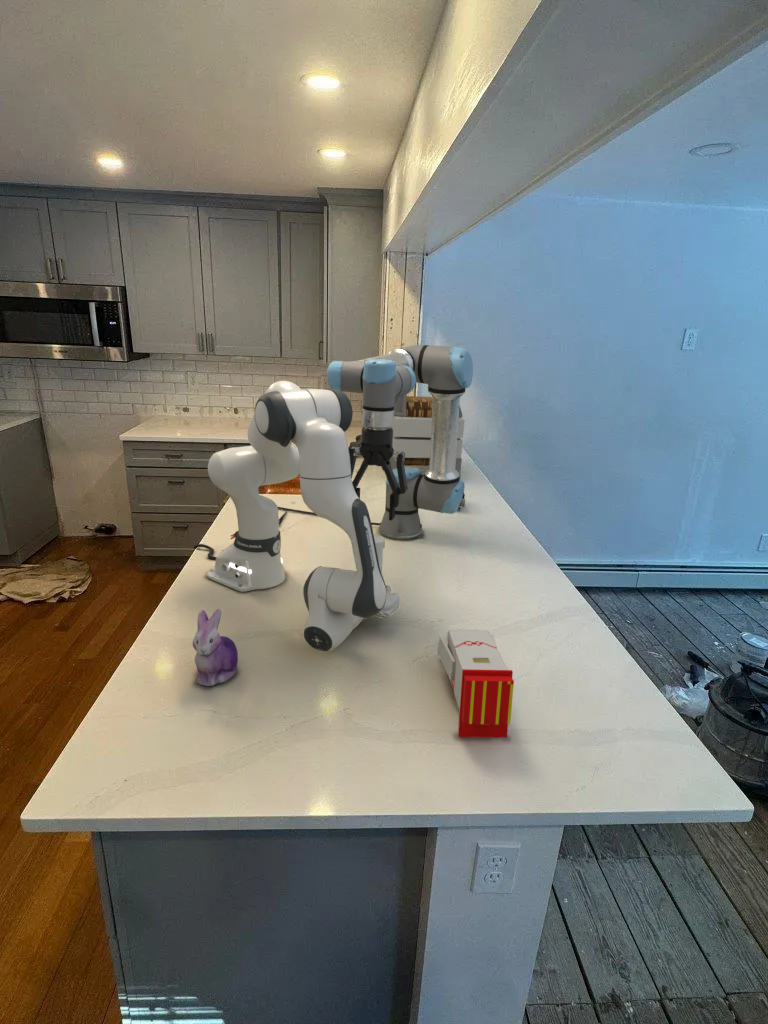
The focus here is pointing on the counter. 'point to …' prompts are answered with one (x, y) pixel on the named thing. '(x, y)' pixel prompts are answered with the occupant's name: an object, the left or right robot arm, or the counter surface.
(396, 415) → the stacking storage bins
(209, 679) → the figurine
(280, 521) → the feather
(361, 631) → the counter surface
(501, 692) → the toy
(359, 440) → the fossil
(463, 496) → the figurine character
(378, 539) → the lid
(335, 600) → the left robot arm
